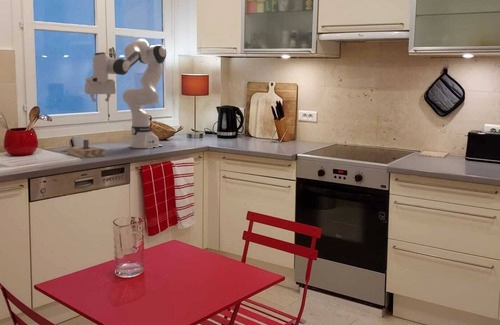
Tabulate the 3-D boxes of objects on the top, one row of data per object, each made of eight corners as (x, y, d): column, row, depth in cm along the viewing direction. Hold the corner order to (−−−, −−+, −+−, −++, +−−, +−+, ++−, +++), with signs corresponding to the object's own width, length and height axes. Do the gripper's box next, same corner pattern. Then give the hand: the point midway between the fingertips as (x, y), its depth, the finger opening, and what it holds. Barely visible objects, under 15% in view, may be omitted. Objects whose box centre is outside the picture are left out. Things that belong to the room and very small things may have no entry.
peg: (87, 154, 335) (86, 139, 333) (89, 155, 333) (89, 140, 331) (82, 154, 332) (82, 139, 331) (85, 155, 330) (85, 140, 329)
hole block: (88, 152, 343) (88, 145, 343) (104, 155, 332) (104, 149, 331) (67, 153, 333) (67, 147, 333) (83, 157, 321) (83, 150, 321)
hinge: (79, 151, 345) (73, 136, 344) (72, 153, 346) (66, 138, 345) (90, 148, 362) (85, 133, 361) (84, 150, 363) (79, 135, 362)
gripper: (111, 79, 353) (112, 101, 355) (83, 78, 338) (83, 101, 340) (117, 79, 349) (117, 101, 351) (88, 78, 334) (88, 102, 336)
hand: (100, 101), depth 345 cm, fingers open, 8 cm apart
